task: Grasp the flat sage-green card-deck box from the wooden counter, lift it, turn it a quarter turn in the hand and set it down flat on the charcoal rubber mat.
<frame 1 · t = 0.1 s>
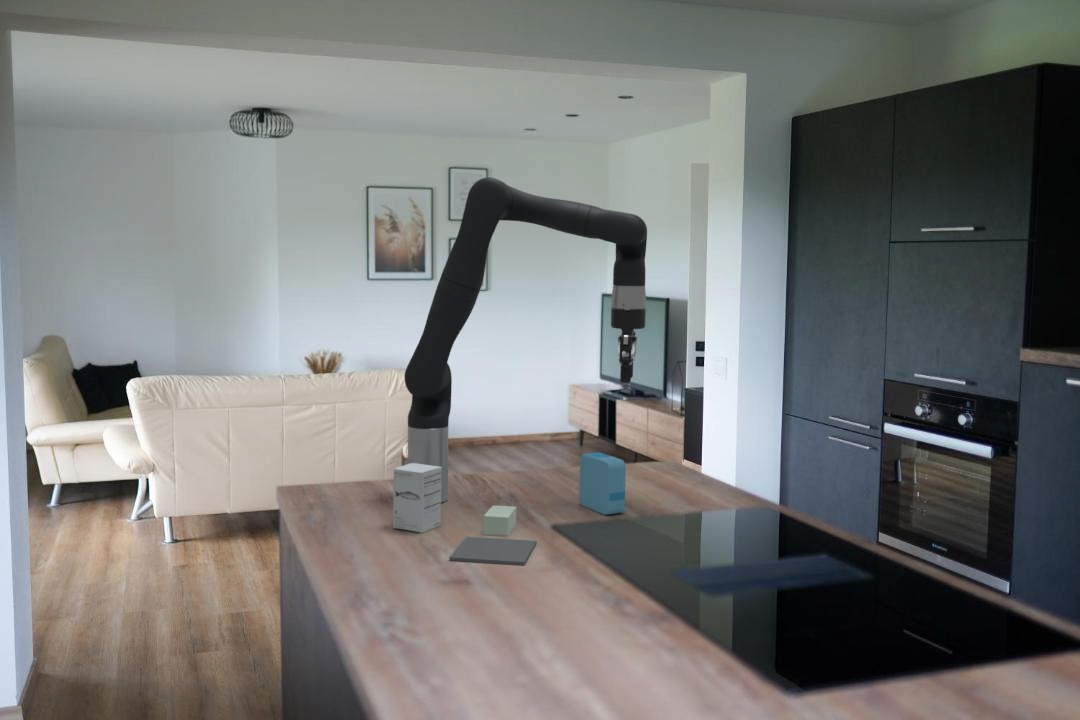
hand: (626, 380, 217), 29 cm above the countertop, tool pointing down, fingers open, 8 cm apart
mat: (494, 551, 187), on the countertop
blue box: (601, 510, 221), on the countertop
deck box: (500, 530, 203), on the countertop
supplement box: (417, 528, 203), on the countertop
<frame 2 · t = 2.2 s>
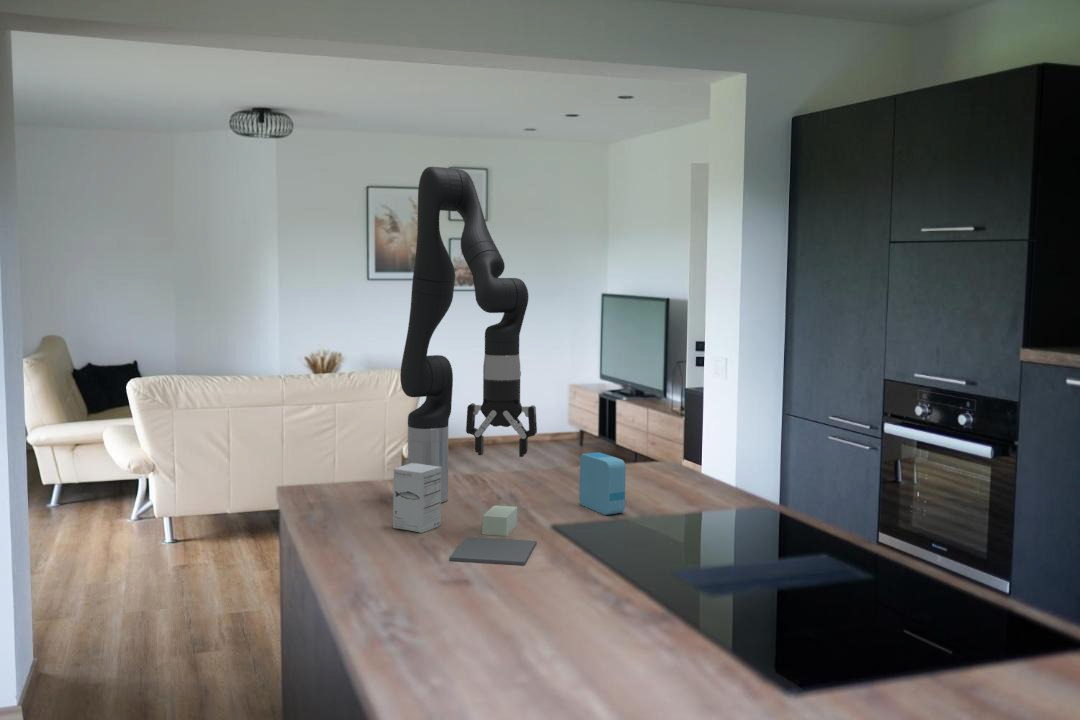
hand: (501, 455, 201), 15 cm above the countertop, tool pointing down, fingers open, 8 cm apart
nothing on the countertop moved.
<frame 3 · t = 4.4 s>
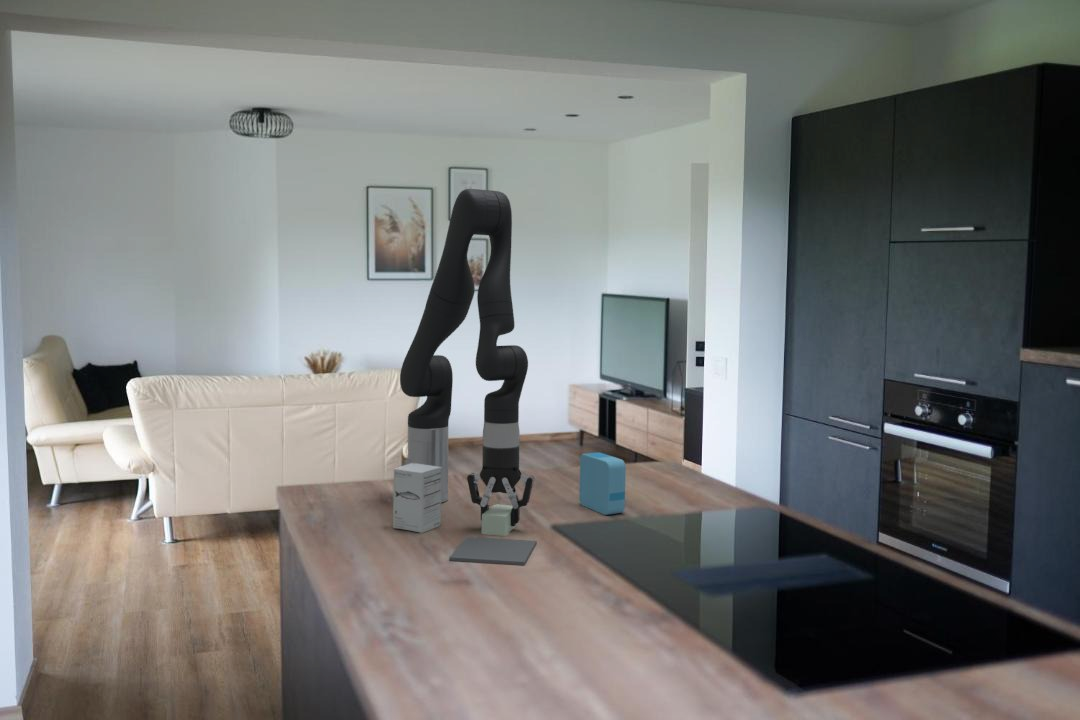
hand: (500, 524, 203), 1 cm above the countertop, tool pointing down, fingers closed on deck box, 5 cm apart
deck box: (499, 529, 203), on the countertop, touching gripper
everything else where it was.
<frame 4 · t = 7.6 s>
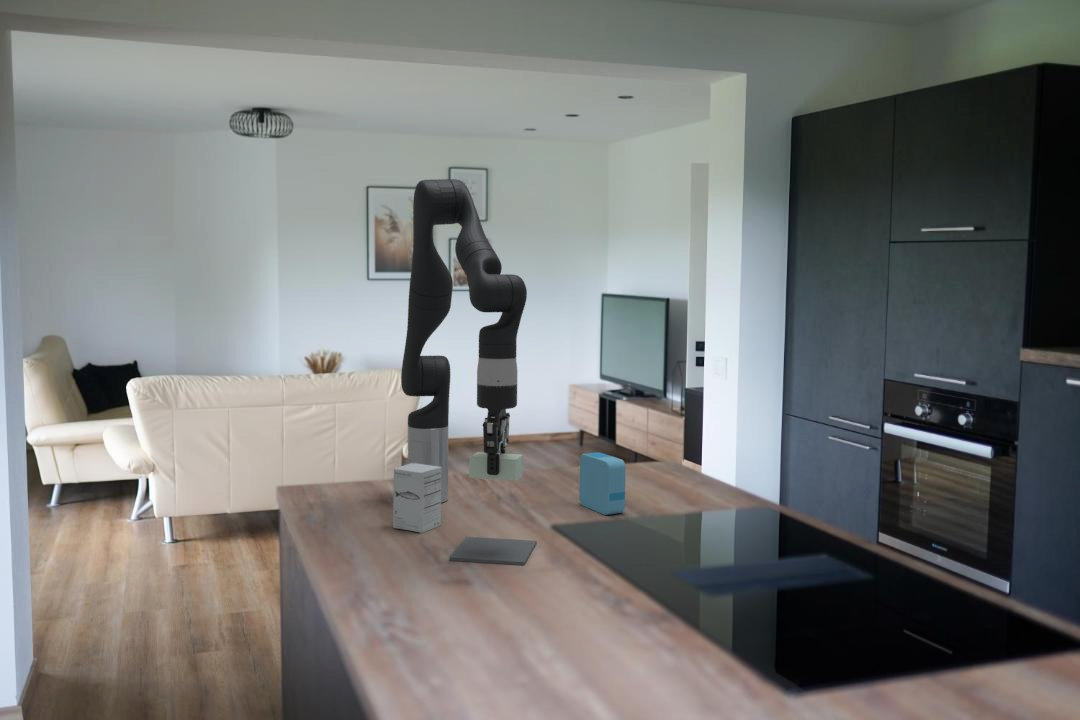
hand: (496, 471, 185), 16 cm above the countertop, tool pointing down, fingers closed on deck box, 5 cm apart
deck box: (496, 476, 185), point 14 cm above the countertop, touching gripper
everything else where it was.
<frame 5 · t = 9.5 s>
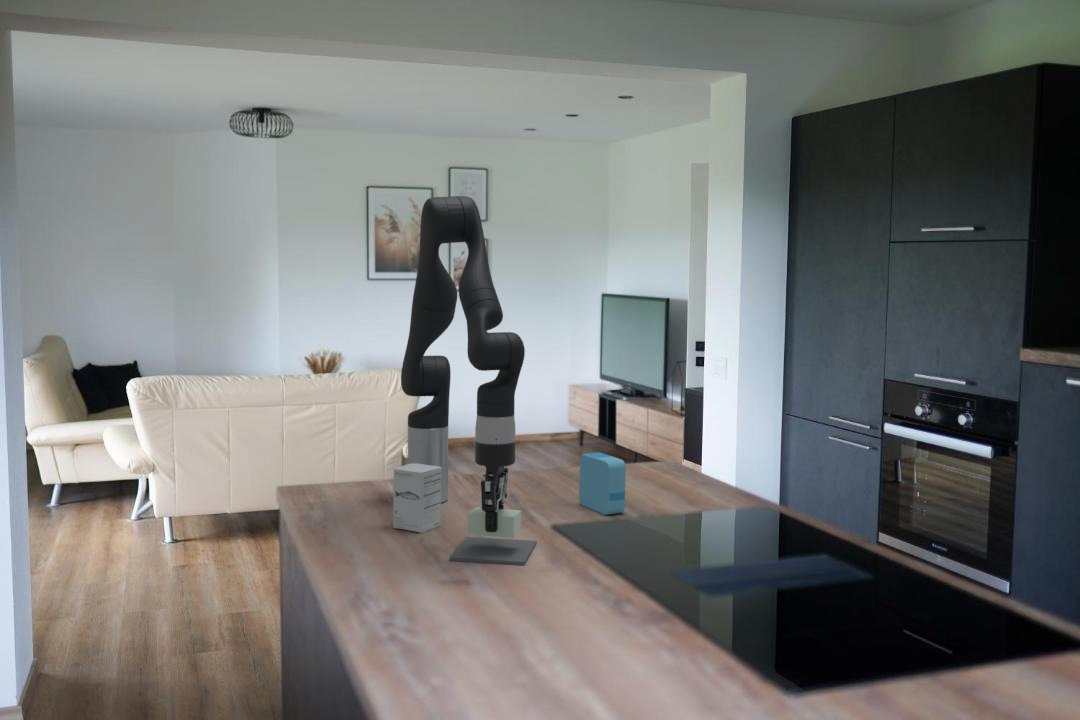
hand: (494, 527, 186), 5 cm above the countertop, tool pointing down, fingers closed on deck box, 5 cm apart
deck box: (494, 532, 186), point 4 cm above the countertop, touching gripper
everything else where it was.
when the fingers open (3 cm above the countertop, at t = 10.9 s): deck box drops 1 cm, resting on mat.
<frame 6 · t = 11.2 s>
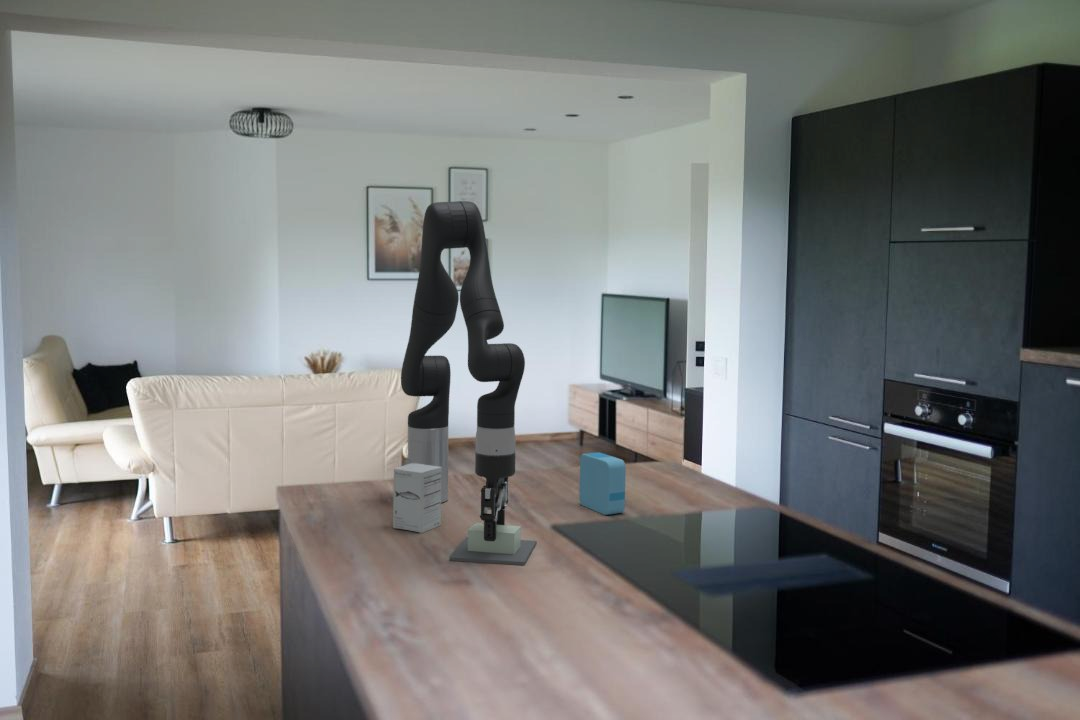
hand: (494, 534, 187), 3 cm above the countertop, tool pointing down, fingers open, 8 cm apart
deck box: (494, 548, 187), point 1 cm above the countertop, touching mat
everything else where it was.
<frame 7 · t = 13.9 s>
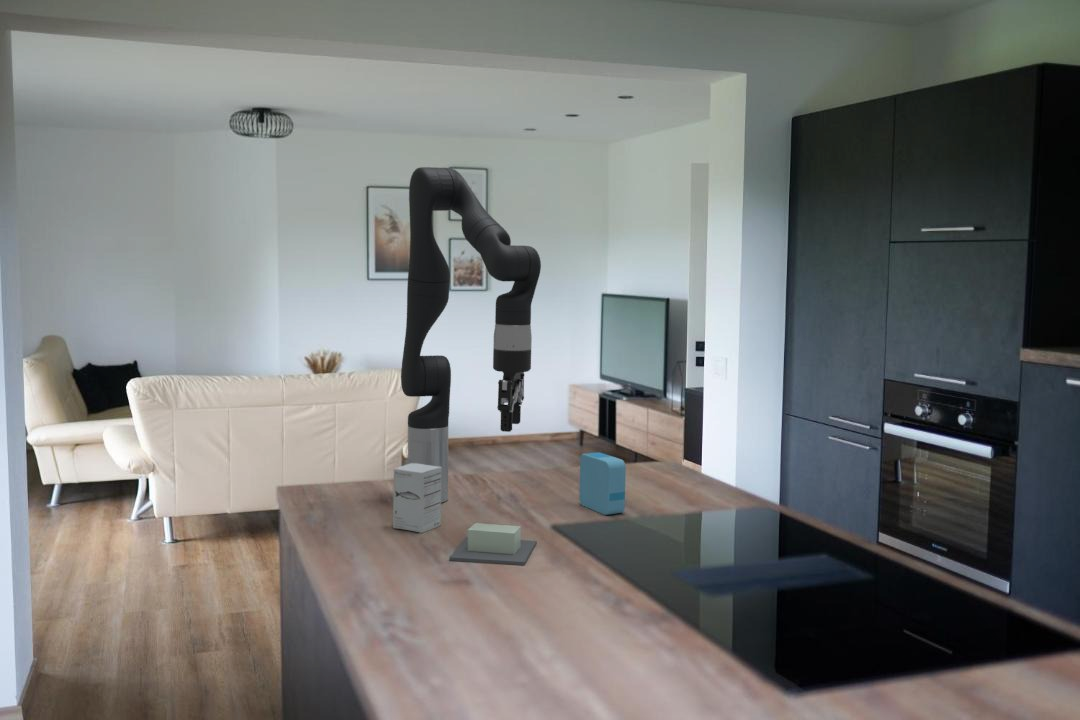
hand: (510, 427, 197), 22 cm above the countertop, tool pointing down, fingers open, 8 cm apart
nothing on the countertop moved.
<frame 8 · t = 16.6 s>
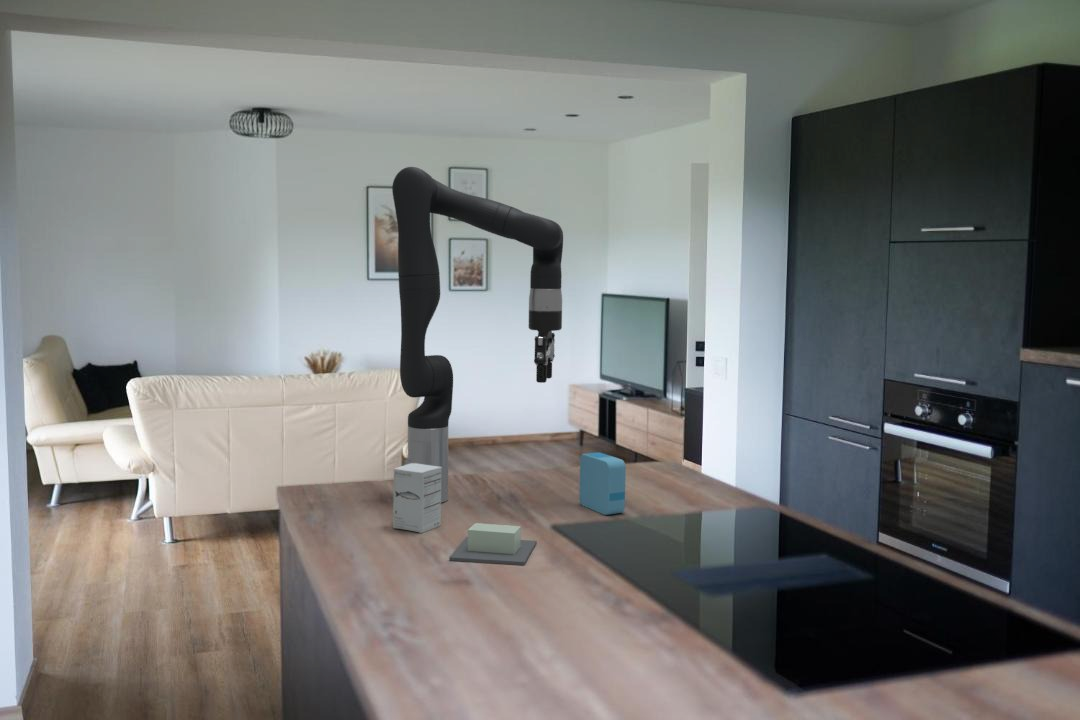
hand: (544, 380, 224), 28 cm above the countertop, tool pointing down, fingers open, 8 cm apart
nothing on the countertop moved.
at the end: deck box inside the target area (0.0 cm from its centre), point 0.6 cm above the countertop; deck box tilted 0°; deck box touching mat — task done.
